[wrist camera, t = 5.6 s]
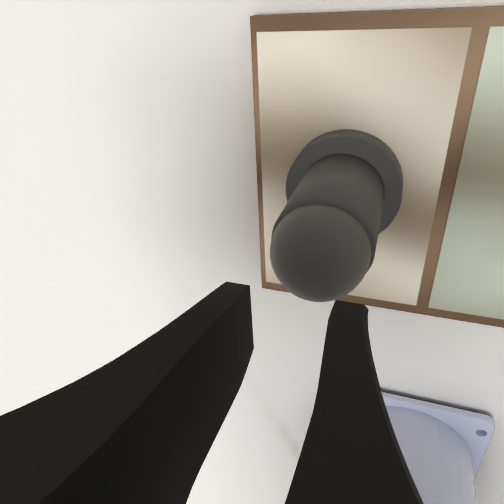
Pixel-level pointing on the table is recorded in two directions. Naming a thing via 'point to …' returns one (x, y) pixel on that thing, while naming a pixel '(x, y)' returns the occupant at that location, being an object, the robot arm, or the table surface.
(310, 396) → the table surface
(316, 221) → the pawn
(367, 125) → the game track
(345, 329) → the robot arm
